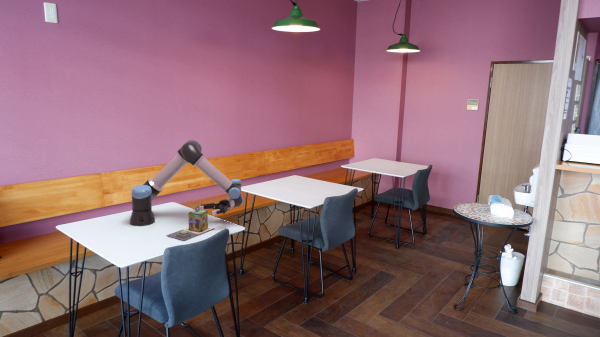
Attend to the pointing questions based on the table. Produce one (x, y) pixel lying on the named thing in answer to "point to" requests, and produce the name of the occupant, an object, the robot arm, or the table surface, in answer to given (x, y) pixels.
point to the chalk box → (198, 219)
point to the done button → (183, 232)
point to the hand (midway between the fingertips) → (204, 211)
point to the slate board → (188, 234)
